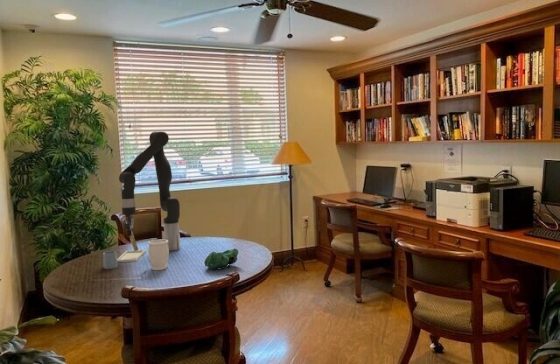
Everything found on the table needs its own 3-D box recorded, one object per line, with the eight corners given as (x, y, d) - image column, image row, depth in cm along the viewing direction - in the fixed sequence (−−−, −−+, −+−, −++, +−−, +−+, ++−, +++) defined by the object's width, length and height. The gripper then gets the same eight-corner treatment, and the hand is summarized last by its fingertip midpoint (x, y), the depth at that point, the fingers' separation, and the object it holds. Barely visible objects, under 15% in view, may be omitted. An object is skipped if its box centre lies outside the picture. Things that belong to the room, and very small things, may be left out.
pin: (138, 250, 256) (136, 223, 254) (137, 251, 254) (135, 224, 252) (128, 251, 256) (125, 224, 254) (127, 252, 253) (124, 225, 252)
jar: (151, 272, 226) (149, 244, 224) (147, 267, 235) (146, 240, 233) (171, 269, 231) (170, 241, 229) (167, 264, 240) (165, 238, 238)
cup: (118, 266, 238) (117, 250, 237) (115, 269, 232) (114, 253, 231) (106, 266, 238) (105, 251, 237) (102, 270, 231) (101, 254, 230)
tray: (145, 253, 266) (145, 249, 266) (136, 262, 245) (136, 259, 244) (126, 253, 265) (126, 250, 265) (116, 263, 244) (115, 260, 244)
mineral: (226, 261, 243) (226, 244, 242) (244, 266, 232) (244, 248, 231) (199, 268, 231) (198, 250, 230) (216, 274, 219) (216, 255, 218)
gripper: (132, 207, 245) (133, 237, 247) (138, 204, 259) (139, 232, 261) (118, 208, 245) (120, 237, 246) (125, 204, 259) (126, 232, 260)
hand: (130, 234), depth 254 cm, fingers closed on pin, 2 cm apart
